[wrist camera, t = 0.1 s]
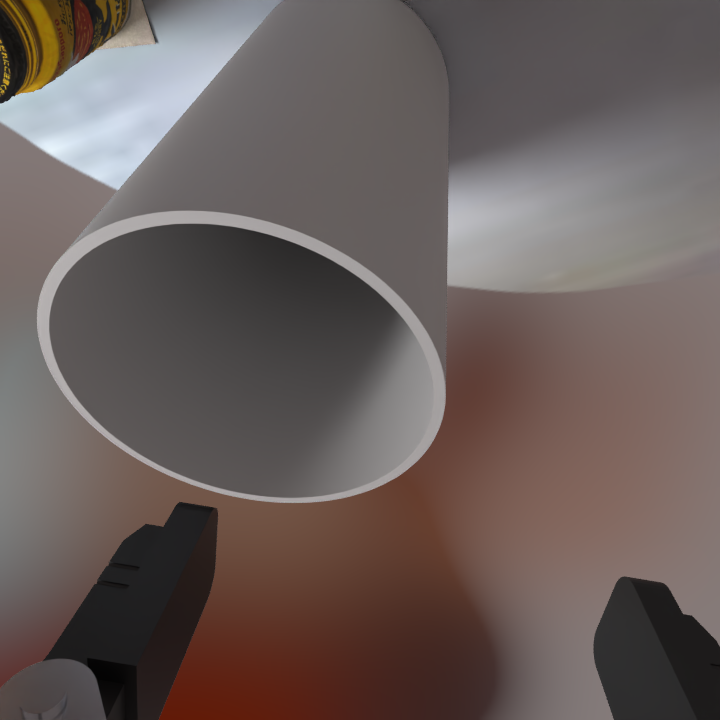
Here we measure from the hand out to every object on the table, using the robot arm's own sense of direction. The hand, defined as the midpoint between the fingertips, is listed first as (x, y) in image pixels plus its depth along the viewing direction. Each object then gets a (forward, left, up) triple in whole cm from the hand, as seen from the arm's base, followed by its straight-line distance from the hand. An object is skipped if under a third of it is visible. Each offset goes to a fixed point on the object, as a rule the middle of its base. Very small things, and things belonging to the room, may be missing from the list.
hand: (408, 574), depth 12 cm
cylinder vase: (-1, -6, -32) cm, 32 cm away
